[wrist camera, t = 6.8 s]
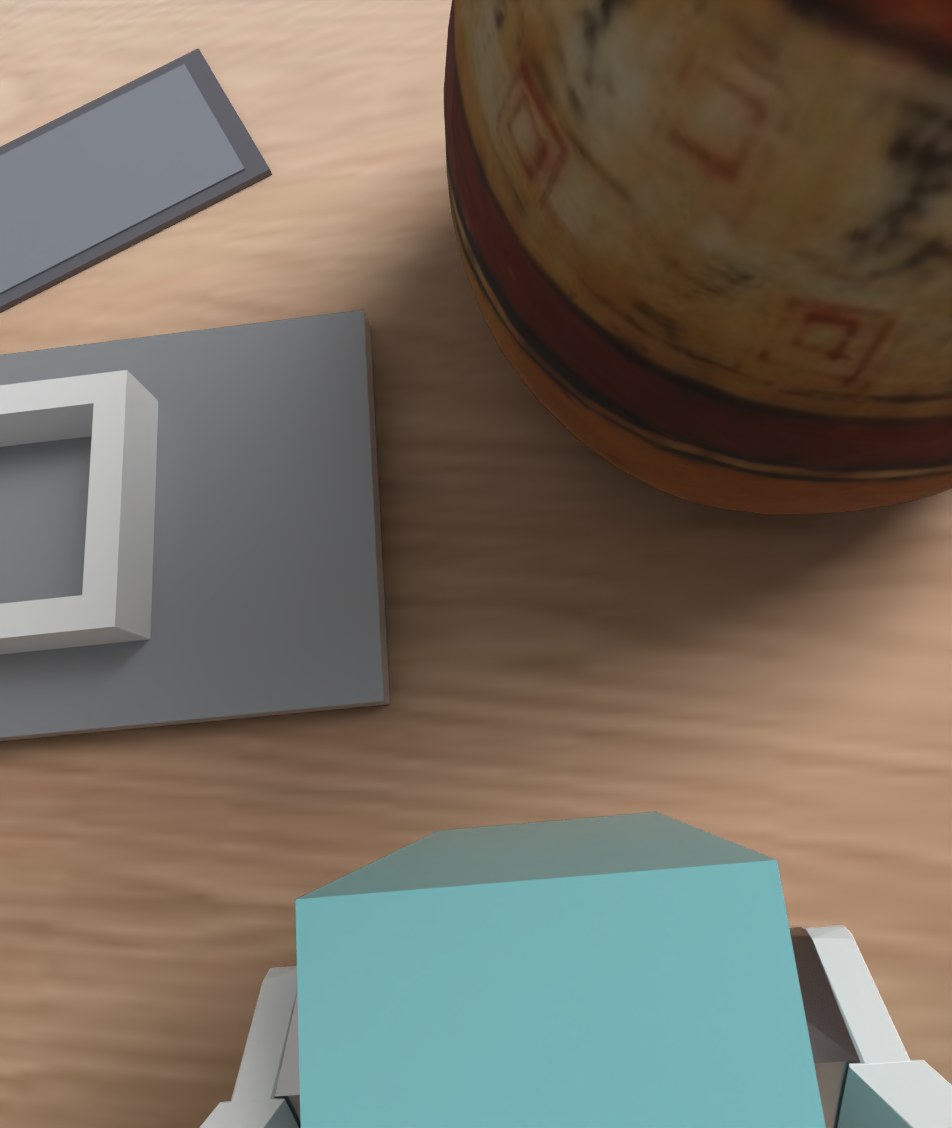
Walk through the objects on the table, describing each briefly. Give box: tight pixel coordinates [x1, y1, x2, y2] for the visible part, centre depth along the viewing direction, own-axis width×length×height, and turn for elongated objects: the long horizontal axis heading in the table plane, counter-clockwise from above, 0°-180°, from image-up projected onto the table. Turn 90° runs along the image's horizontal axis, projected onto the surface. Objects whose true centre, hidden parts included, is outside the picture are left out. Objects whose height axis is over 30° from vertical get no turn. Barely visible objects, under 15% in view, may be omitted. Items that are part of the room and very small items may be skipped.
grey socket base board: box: [0, 310, 390, 741], centre depth 24 cm, size 22×13×3 cm, turn 95°
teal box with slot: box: [295, 812, 826, 1128], centre depth 11 cm, size 4×5×9 cm
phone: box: [0, 49, 272, 313], centre depth 29 cm, size 7×14×1 cm, turn 119°
